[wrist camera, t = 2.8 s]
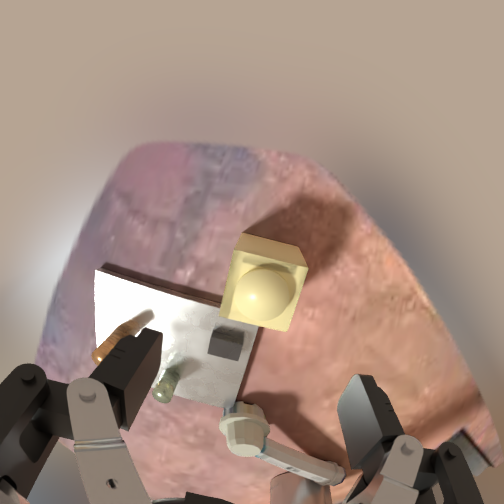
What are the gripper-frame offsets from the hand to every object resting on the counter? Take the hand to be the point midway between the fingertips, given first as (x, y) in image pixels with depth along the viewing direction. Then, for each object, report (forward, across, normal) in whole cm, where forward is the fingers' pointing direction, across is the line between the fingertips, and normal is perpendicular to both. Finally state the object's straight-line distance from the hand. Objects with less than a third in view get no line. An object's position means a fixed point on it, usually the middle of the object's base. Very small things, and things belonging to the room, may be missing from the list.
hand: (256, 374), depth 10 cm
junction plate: (+14, +7, +11) cm, 20 cm away
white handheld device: (+15, -11, +25) cm, 31 cm away
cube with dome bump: (+14, 0, 0) cm, 15 cm away
